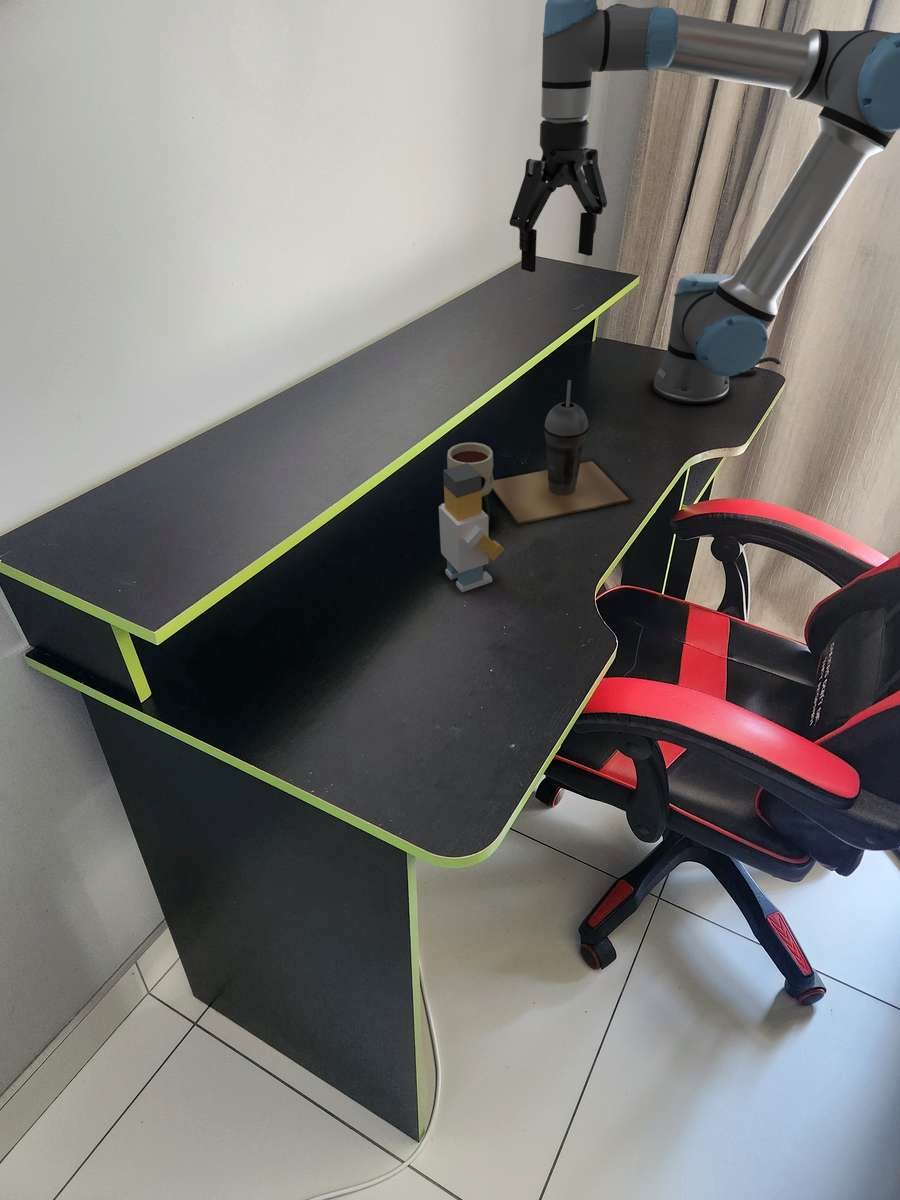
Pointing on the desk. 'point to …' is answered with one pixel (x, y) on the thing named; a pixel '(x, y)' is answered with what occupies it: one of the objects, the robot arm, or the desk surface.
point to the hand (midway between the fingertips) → (557, 262)
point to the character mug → (475, 466)
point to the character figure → (465, 529)
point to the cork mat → (536, 502)
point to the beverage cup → (564, 444)
